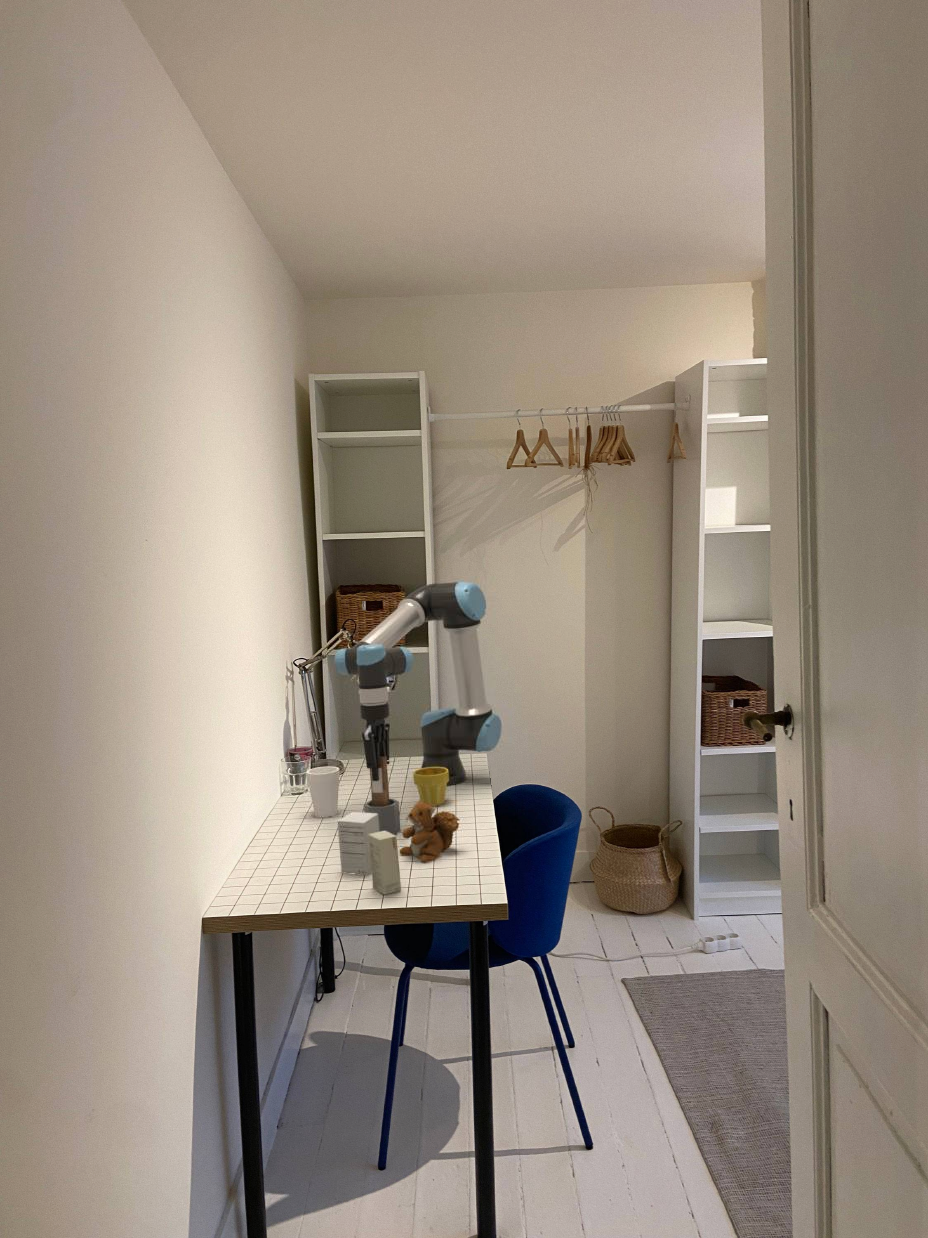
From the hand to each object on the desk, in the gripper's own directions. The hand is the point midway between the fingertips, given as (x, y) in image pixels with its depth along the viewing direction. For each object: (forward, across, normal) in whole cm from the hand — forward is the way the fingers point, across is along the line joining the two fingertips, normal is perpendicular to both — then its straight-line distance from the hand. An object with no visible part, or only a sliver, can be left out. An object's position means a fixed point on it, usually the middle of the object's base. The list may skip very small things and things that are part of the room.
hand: (380, 790), depth 234 cm
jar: (+11, 0, 0) cm, 11 cm away
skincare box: (+12, +38, +17) cm, 43 cm away
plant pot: (+12, -28, +4) cm, 31 cm away
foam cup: (+12, -14, -24) cm, 30 cm away
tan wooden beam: (+7, 0, 0) cm, 7 cm away
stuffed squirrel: (+12, +14, +19) cm, 26 cm away
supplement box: (+12, +27, +6) cm, 30 cm away
